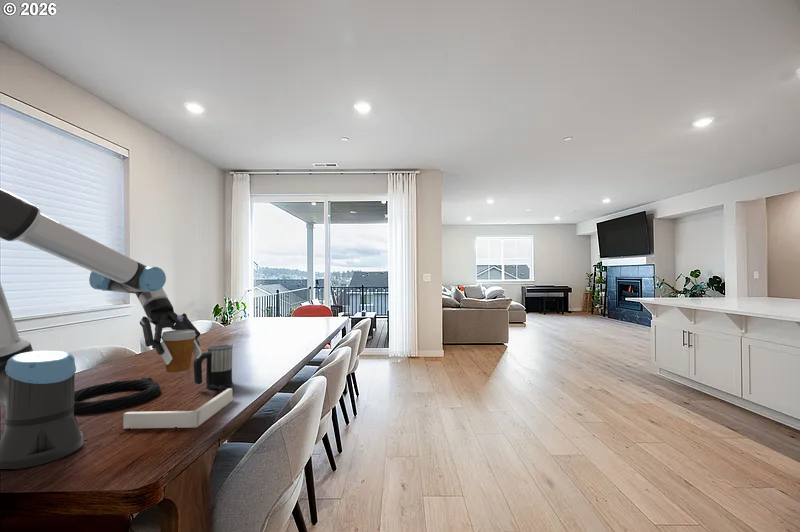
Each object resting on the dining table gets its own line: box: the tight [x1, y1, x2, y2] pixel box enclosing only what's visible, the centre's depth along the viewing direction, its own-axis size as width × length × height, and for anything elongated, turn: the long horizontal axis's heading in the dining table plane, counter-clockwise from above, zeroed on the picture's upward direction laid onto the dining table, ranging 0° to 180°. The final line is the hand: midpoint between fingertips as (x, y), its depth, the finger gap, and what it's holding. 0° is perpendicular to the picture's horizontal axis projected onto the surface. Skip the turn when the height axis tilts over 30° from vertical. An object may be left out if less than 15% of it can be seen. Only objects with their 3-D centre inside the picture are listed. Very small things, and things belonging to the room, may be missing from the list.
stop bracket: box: [122, 388, 233, 430], centre depth 111 cm, size 22×20×4 cm
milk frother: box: [193, 344, 235, 391], centre depth 136 cm, size 14×16×15 cm
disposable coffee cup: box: [161, 329, 196, 374], centre depth 114 cm, size 10×10×12 cm
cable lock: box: [74, 376, 161, 414], centre depth 126 cm, size 28×4×30 cm
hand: (184, 358), depth 113 cm, fingers closed on disposable coffee cup, 9 cm apart
